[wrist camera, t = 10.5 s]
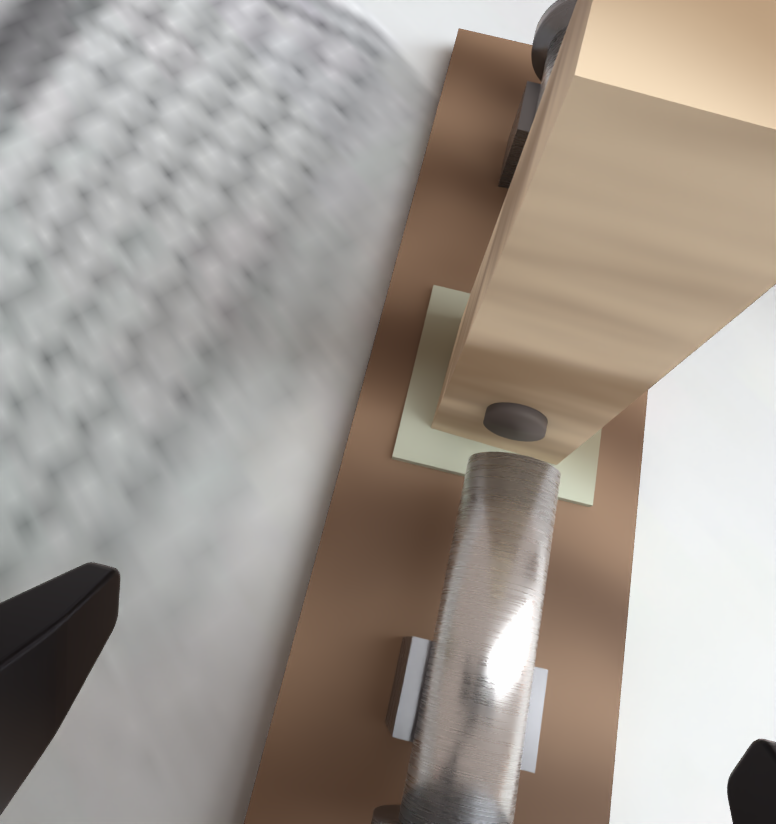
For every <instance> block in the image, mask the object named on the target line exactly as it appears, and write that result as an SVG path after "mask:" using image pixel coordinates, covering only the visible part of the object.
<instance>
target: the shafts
mask: <svg viewBox="0 0 776 824" xmlns="http://www.w3.org/2000/svg"><path fill="white" fill-rule="evenodd" d="M576 2H577V0H557V1H556V2H555V3H553V4H552V5H551V6H550V7H549V8H548V9H547V10H546V11H545V13H544V14H543V16H542V17H541V19H540V21H539V22H538V25H537V28H536V31H535V36H534V40H533V45H532V51H531V61H532V66H533V69H534V72H535V73H536V75H537V77H538V78H539V80H540V81H541V84H539V83H534V82H530V81H527V83H526V86H525V89H524V92H523V95H522V99H521V102H520V105H519V108H518V111H517V114H516V117H515V120H514V123H513V126H512V129H511V132H510V135H509V138H508V141H507V146H506V151H505V155H504V160H503V165H502V170H501V174H500V179H499V184H498V186H499V187H503V188H507V189H509V187H510V184H511V181H512V178H513V176H514V173H515V170H516V167H517V165H518V162H519V159H520V156H521V154H522V151H523V148H524V145H525V143H526V140H527V137H528V134H529V132H530V129H531V126H532V123H533V121H534V118H535V115H536V112H537V110H538V107H539V104H540V101H541V99H542V96H543V93H544V90H545V88H546V85H547V82H548V79H549V77H550V74H551V71H552V68H553V66H554V63H555V60H556V57H557V55H558V52H559V49H560V46H561V44H562V41H563V38H564V35H565V33H566V30H567V27H568V24H569V22H570V19H571V16H572V13H573V11H574V8H575V5H576ZM560 478H561V474H560V472H559V471H558V470H557V469H556V468H555V467H554V466H552V465H550V464H548V463H546V462H544V461H541V460H539V459H536V458H533V457H529V456H525V455H520V454H515V453H508V452H480V453H476V454H473V455H471V456H470V457H469V458H468V462H467V467H466V473H465V478H464V483H463V488H462V493H461V498H460V503H459V508H458V514H457V519H456V524H455V529H454V534H453V539H452V544H451V550H450V555H449V560H448V565H447V570H446V575H445V580H444V586H443V591H442V596H441V601H440V606H439V611H438V616H437V622H436V627H435V632H434V637H433V641H430V640H426V639H422V638H418V637H414V636H408V637H403V638H402V643H401V647H400V652H399V657H398V661H397V666H396V671H395V676H394V680H393V685H392V690H391V695H390V699H389V704H388V709H387V714H386V718H385V724H386V726H387V728H388V730H389V732H390V734H391V736H392V737H394V738H398V739H402V740H406V741H410V742H413V745H412V750H411V755H410V760H409V765H408V771H407V776H406V781H405V786H404V791H403V796H402V801H401V805H382V806H379V807H377V808H375V809H374V811H373V816H372V821H371V824H513V821H514V813H515V806H516V799H517V791H518V784H519V777H520V770H524V771H528V772H532V773H535V768H536V760H537V753H538V745H539V737H540V729H541V722H542V714H543V706H544V699H545V691H546V683H547V675H548V670H547V669H543V668H539V667H535V660H536V653H537V646H538V638H539V631H540V624H541V617H542V609H543V602H544V595H545V587H546V580H547V573H548V566H549V558H550V551H551V544H552V536H553V529H554V522H555V514H556V507H557V500H558V493H559V485H560Z"/></svg>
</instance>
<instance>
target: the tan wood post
mask: <svg viewBox="0 0 776 824" xmlns="http://www.w3.org/2000/svg"><path fill="white" fill-rule="evenodd" d="M775 284H776V0H577V2H576V5H575V8H574V11H573V13H572V16H571V19H570V22H569V24H568V27H567V30H566V33H565V35H564V38H563V41H562V44H561V46H560V49H559V52H558V55H557V57H556V60H555V63H554V66H553V68H552V71H551V74H550V77H549V79H548V82H547V85H546V88H545V90H544V93H543V96H542V99H541V101H540V104H539V107H538V110H537V112H536V115H535V118H534V121H533V123H532V126H531V129H530V132H529V134H528V137H527V140H526V143H525V145H524V148H523V151H522V154H521V156H520V159H519V162H518V165H517V167H516V170H515V173H514V176H513V178H512V181H511V184H510V187H509V189H508V192H507V195H506V198H505V200H504V203H503V206H502V209H501V211H500V214H499V217H498V220H497V222H496V225H495V228H494V231H493V233H492V236H491V239H490V242H489V244H488V247H487V250H486V253H485V255H484V258H483V261H482V263H481V266H480V269H479V272H478V274H477V277H476V280H475V283H474V285H473V288H472V291H471V294H470V296H469V299H468V302H467V305H466V307H465V310H464V313H463V316H462V318H461V322H460V326H459V329H458V333H457V336H456V340H455V343H454V347H453V351H452V354H451V358H450V361H449V365H448V368H447V372H446V376H445V379H444V383H443V386H442V390H441V393H440V397H439V401H438V404H437V408H436V411H435V415H434V418H433V422H432V426H431V428H433V429H436V430H439V431H443V432H446V433H449V434H453V435H456V436H460V437H463V438H466V439H470V440H473V441H477V442H480V443H483V444H487V445H490V446H493V447H497V448H500V449H504V450H507V451H510V452H514V453H517V454H521V455H525V456H529V457H533V458H536V459H539V460H541V461H544V462H548V463H551V464H554V465H557V464H559V463H560V462H561V461H562V460H564V459H565V458H566V457H567V456H568V455H570V454H571V453H572V452H573V451H574V450H576V449H577V448H578V447H579V446H580V445H582V444H583V443H584V442H585V441H587V440H588V439H589V438H590V437H591V436H593V435H594V434H595V433H596V432H597V431H599V430H600V429H601V428H602V427H603V426H605V425H606V424H607V423H608V422H610V421H611V420H612V419H613V418H614V417H616V416H617V415H618V414H619V413H620V412H622V411H623V410H624V409H625V408H626V407H628V406H629V405H630V404H631V403H632V402H634V401H635V400H636V399H637V398H639V397H640V396H641V395H642V394H643V393H645V392H646V391H647V390H648V389H649V388H651V387H652V386H653V385H654V384H655V383H657V382H658V381H659V380H660V379H662V378H663V377H664V376H665V375H666V374H668V373H669V372H670V371H671V370H672V369H674V368H675V367H676V366H677V365H678V364H680V363H681V362H682V361H683V360H685V359H686V358H687V357H688V356H689V355H691V354H692V353H693V352H694V351H695V350H697V349H698V348H699V347H700V346H701V345H703V344H704V343H705V342H706V341H708V340H709V339H710V338H711V337H712V336H714V335H715V334H716V333H717V332H718V331H720V330H721V329H722V328H723V327H724V326H726V325H727V324H728V323H729V322H731V321H732V320H733V319H734V318H735V317H737V316H738V315H739V314H740V313H741V312H743V311H744V310H745V309H746V308H747V307H749V306H750V305H751V304H752V303H753V302H755V301H756V300H757V299H758V298H760V297H761V296H762V295H763V294H764V293H766V292H767V291H768V290H769V289H770V288H772V287H773V286H774V285H775Z"/></svg>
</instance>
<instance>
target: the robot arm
mask: <svg viewBox="0 0 776 824" xmlns="http://www.w3.org/2000/svg"><path fill="white" fill-rule="evenodd" d="M119 592H120V573H119V571H118V570H117V569H116V568H114V567H110V566H106V565H102V564H98V563H94V562H90V563H86V564H83V565H81V566H79V567H77V568H75V569H73V570H70V571H68V572H66V573H64V574H62V575H60V576H57V577H55V578H53V579H51V580H49V581H47V582H45V583H42V584H40V585H38V586H36V587H34V588H32V589H29V590H27V591H25V592H23V593H21V594H19V595H16V596H14V597H12V598H10V599H8V600H6V601H4V602H1V603H0V815H1V814H2V812H3V811H4V809H5V808H6V806H7V805H8V803H9V802H10V801H11V799H12V798H13V796H14V795H15V793H16V792H17V790H18V789H19V787H20V786H21V785H22V783H23V782H24V780H25V779H26V777H27V776H28V774H29V773H30V771H31V770H32V769H33V767H34V766H35V764H36V763H37V761H38V760H39V758H40V757H41V755H42V754H43V753H44V751H45V749H46V748H47V746H48V745H49V743H50V742H51V740H52V739H53V737H54V736H55V734H56V732H57V731H58V729H59V727H60V725H61V724H62V722H63V720H64V718H65V717H66V715H67V713H68V711H69V709H70V708H71V706H72V704H73V702H74V700H75V699H76V697H77V695H78V693H79V691H80V689H81V688H82V686H83V684H84V682H85V680H86V678H87V677H88V675H89V673H90V671H91V669H92V667H93V666H94V664H95V662H96V660H97V658H98V657H99V655H100V653H101V651H102V649H103V647H104V646H105V644H106V642H107V640H108V638H109V636H110V635H111V633H112V631H113V629H114V626H115V624H116V621H117V617H118V608H119ZM727 794H728V800H729V806H730V811H731V816H732V821H733V824H776V742H773V741H770V740H766V739H758V740H756V741H754V742H753V743H752V744H751V745H750V746H749V748H748V749H747V751H746V752H745V754H744V755H743V757H742V758H741V760H740V761H739V763H738V764H737V765H736V767H735V768H734V770H733V771H732V773H731V775H730V777H729V780H728V785H727Z"/></svg>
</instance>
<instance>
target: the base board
mask: <svg viewBox="0 0 776 824" xmlns="http://www.w3.org/2000/svg"><path fill="white" fill-rule="evenodd" d="M531 51H532V45H529V44H524V43H520V42H516V41H511V40H507V39H503V38H498V37H494V36H490V35H485V34H481V33H477V32H472V31H468V30H464V29H459V30H458V34H457V37H456V41H455V45H454V48H453V52H452V56H451V59H450V63H449V67H448V70H447V74H446V78H445V82H444V85H443V89H442V93H441V96H440V100H439V104H438V107H437V111H436V115H435V119H434V122H433V126H432V130H431V133H430V137H429V141H428V144H427V148H426V152H425V155H424V159H423V163H422V167H421V170H420V174H419V178H418V181H417V185H416V189H415V192H414V196H413V200H412V203H411V207H410V211H409V215H408V218H407V222H406V226H405V229H404V233H403V237H402V240H401V244H400V248H399V252H398V255H397V259H396V263H395V266H394V270H393V274H392V277H391V281H390V285H389V288H388V292H387V296H386V300H385V303H384V307H383V311H382V314H381V318H380V322H379V325H378V329H377V333H376V336H375V340H374V344H373V348H372V351H371V355H370V359H369V362H368V366H367V370H366V373H365V377H364V381H363V384H362V388H361V392H360V396H359V399H358V403H357V407H356V410H355V414H354V418H353V421H352V425H351V429H350V433H349V436H348V440H347V444H346V447H345V451H344V455H343V458H342V462H341V466H340V469H339V473H338V477H337V481H336V484H335V488H334V492H333V495H332V499H331V503H330V506H329V510H328V514H327V517H326V521H325V525H324V529H323V532H322V536H321V540H320V543H319V547H318V551H317V554H316V558H315V562H314V565H313V569H312V573H311V577H310V580H309V584H308V588H307V591H306V595H305V599H304V602H303V606H302V610H301V614H300V617H299V621H298V625H297V628H296V632H295V636H294V639H293V643H292V647H291V650H290V654H289V658H288V662H287V665H286V669H285V673H284V676H283V680H282V684H281V687H280V691H279V695H278V698H277V702H276V706H275V710H274V713H273V717H272V721H271V724H270V728H269V732H268V735H267V739H266V743H265V747H264V750H263V754H262V758H261V761H260V765H259V769H258V772H257V776H256V780H255V783H254V787H253V791H252V795H251V798H250V802H249V806H248V809H247V813H246V817H245V820H244V824H371V821H372V816H373V811H374V809H375V808H377V807H379V806H382V805H401V801H402V796H403V791H404V786H405V781H406V776H407V771H408V765H409V760H410V755H411V750H412V745H413V742H410V741H406V740H402V739H398V738H394V737H392V736H391V734H390V732H389V730H388V728H387V726H386V724H385V718H386V714H387V709H388V704H389V699H390V695H391V690H392V685H393V680H394V676H395V671H396V666H397V661H398V657H399V652H400V647H401V643H402V638H403V637H408V636H414V637H418V638H422V639H426V640H430V641H433V637H434V632H435V627H436V622H437V616H438V611H439V606H440V601H441V596H442V591H443V586H444V580H445V575H446V570H447V565H448V560H449V555H450V550H451V544H452V539H453V534H454V529H455V524H456V519H457V514H458V508H459V503H460V498H461V493H462V488H463V483H464V478H465V473H466V467H467V462H468V458H469V457H470V456H471V455H473V454H476V453H480V452H508V453H514V452H510V451H507V450H504V449H500V448H497V447H493V446H490V445H487V444H483V443H480V442H477V441H473V440H470V439H466V438H463V437H460V436H456V435H453V434H449V433H446V432H443V431H439V430H436V429H433V428H431V426H432V422H433V418H434V415H435V411H436V408H437V404H438V401H439V397H440V393H441V390H442V386H443V383H444V379H445V376H446V372H447V368H448V365H449V361H450V358H451V354H452V351H453V347H454V343H455V340H456V336H457V333H458V329H459V326H460V322H461V318H462V316H463V313H464V310H465V307H466V305H467V302H468V299H469V296H470V294H471V291H472V288H473V285H474V283H475V280H476V277H477V274H478V272H479V269H480V266H481V263H482V261H483V258H484V255H485V253H486V250H487V247H488V244H489V242H490V239H491V236H492V233H493V231H494V228H495V225H496V222H497V220H498V217H499V214H500V211H501V209H502V206H503V203H504V200H505V198H506V195H507V192H508V189H507V188H503V187H499V186H498V184H499V179H500V174H501V170H502V165H503V160H504V155H505V151H506V146H507V141H508V138H509V135H510V132H511V129H512V126H513V123H514V120H515V117H516V114H517V111H518V108H519V105H520V102H521V99H522V95H523V92H524V89H525V86H526V83H527V81H530V82H534V83H539V84H541V81H540V80H539V78H538V77H537V75H536V73H535V72H534V69H533V66H532V61H531ZM647 394H648V390H647V391H646V392H645V393H643V394H642V395H641V396H640V397H639V398H637V399H636V400H635V401H634V402H632V403H631V404H630V405H629V406H628V407H626V408H625V409H624V410H623V411H622V412H620V413H619V414H618V415H617V416H616V417H614V418H613V419H612V420H611V421H610V422H608V423H607V424H606V425H605V426H603V427H602V428H601V429H600V430H599V431H597V432H596V433H595V434H594V435H593V436H591V437H590V438H589V439H588V440H587V441H585V442H584V443H583V444H582V445H580V446H579V447H578V448H577V449H576V450H574V451H573V452H572V453H571V454H570V455H568V456H567V457H566V458H565V459H564V460H562V461H561V462H560V463H559V464H557V465H554V464H551V463H548V462H546V463H548V464H550V465H552V466H554V467H555V468H556V469H557V470H558V471H559V472H560V474H561V478H560V485H559V493H558V500H557V507H556V514H555V522H554V529H553V536H552V544H551V551H550V558H549V566H548V573H547V580H546V587H545V595H544V602H543V609H542V617H541V624H540V631H539V638H538V646H537V653H536V660H535V667H539V668H543V669H547V670H548V675H547V683H546V691H545V699H544V706H543V714H542V722H541V729H540V737H539V745H538V753H537V760H536V768H535V773H532V772H528V771H524V770H520V777H519V784H518V791H517V799H516V806H515V813H514V821H513V824H609V818H610V807H611V796H612V784H613V773H614V762H615V751H616V740H617V729H618V717H619V706H620V695H621V684H622V673H623V662H624V651H625V639H626V628H627V617H628V606H629V595H630V584H631V573H632V561H633V550H634V539H635V528H636V517H637V506H638V494H639V483H640V472H641V461H642V450H643V439H644V428H645V416H646V405H647ZM515 454H517V453H515ZM520 455H521V454H520Z"/></svg>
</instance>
